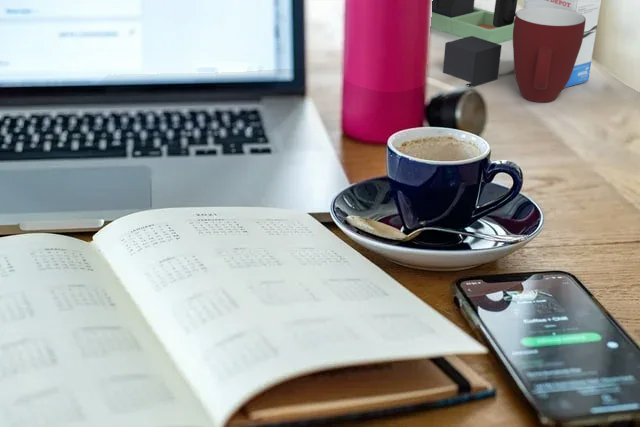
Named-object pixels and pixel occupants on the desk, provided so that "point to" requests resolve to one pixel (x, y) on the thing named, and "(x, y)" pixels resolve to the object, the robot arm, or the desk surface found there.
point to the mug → (545, 50)
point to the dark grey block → (472, 60)
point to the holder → (473, 26)
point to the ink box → (587, 5)
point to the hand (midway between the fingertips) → (472, 15)
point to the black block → (455, 8)
